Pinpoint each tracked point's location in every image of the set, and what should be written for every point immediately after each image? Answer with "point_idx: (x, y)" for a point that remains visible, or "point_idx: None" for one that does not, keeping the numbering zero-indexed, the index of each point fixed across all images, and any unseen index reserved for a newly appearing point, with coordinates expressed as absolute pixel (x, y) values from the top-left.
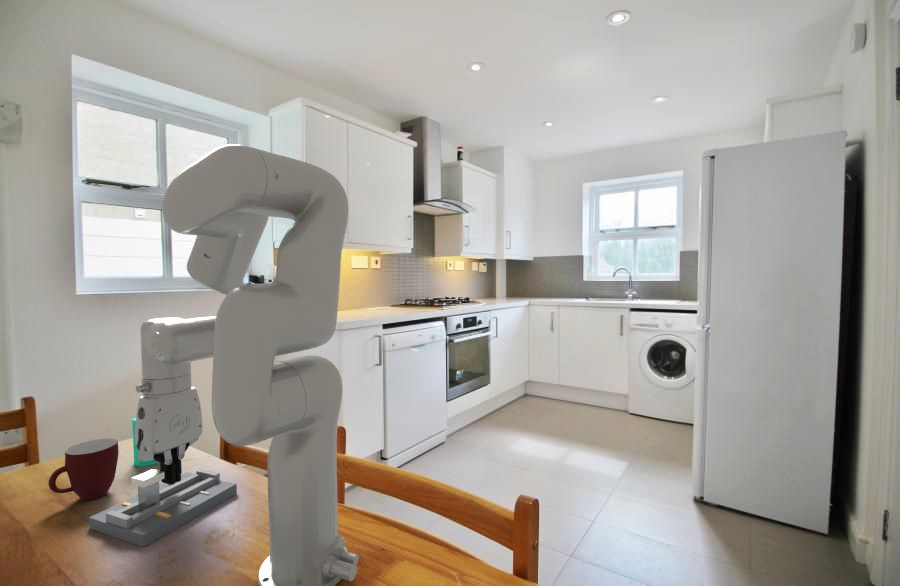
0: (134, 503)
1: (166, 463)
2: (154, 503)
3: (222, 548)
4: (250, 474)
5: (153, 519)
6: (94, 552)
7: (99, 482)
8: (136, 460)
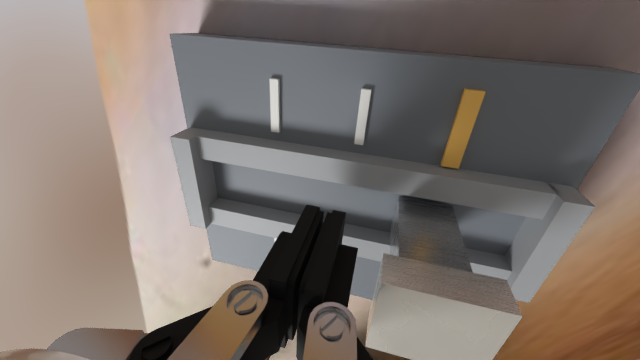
0: None
1: (351, 322)
2: (419, 208)
3: None
4: (106, 97)
5: (494, 142)
6: (620, 210)
7: None
8: None
